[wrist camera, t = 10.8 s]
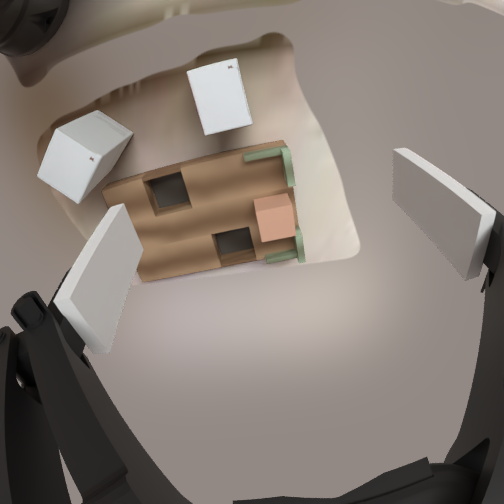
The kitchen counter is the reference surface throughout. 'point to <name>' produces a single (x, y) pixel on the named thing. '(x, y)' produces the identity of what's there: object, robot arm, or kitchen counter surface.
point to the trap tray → (207, 211)
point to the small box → (219, 97)
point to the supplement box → (83, 154)
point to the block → (275, 217)
